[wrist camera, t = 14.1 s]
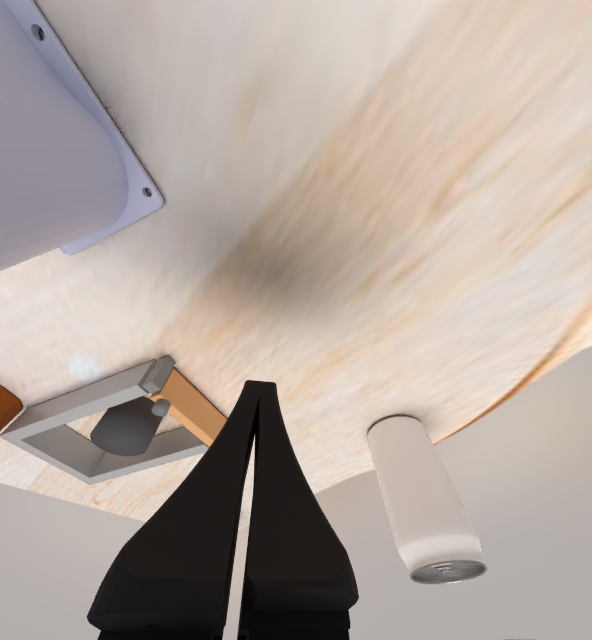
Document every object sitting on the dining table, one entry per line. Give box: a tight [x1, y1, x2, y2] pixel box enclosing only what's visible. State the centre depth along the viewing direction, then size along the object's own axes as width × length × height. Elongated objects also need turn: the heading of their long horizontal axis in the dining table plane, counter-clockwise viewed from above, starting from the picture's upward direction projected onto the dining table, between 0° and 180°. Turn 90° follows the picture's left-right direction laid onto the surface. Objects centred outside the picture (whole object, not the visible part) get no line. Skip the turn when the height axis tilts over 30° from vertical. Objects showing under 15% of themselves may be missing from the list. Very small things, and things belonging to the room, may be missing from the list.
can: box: [367, 415, 487, 584], centre depth 24 cm, size 6×6×12 cm
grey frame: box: [0, 355, 209, 485], centre depth 25 cm, size 10×18×3 cm, turn 114°
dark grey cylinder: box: [90, 396, 163, 456], centre depth 25 cm, size 5×5×4 cm
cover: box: [150, 368, 227, 447], centre depth 24 cm, size 10×1×4 cm, turn 26°
